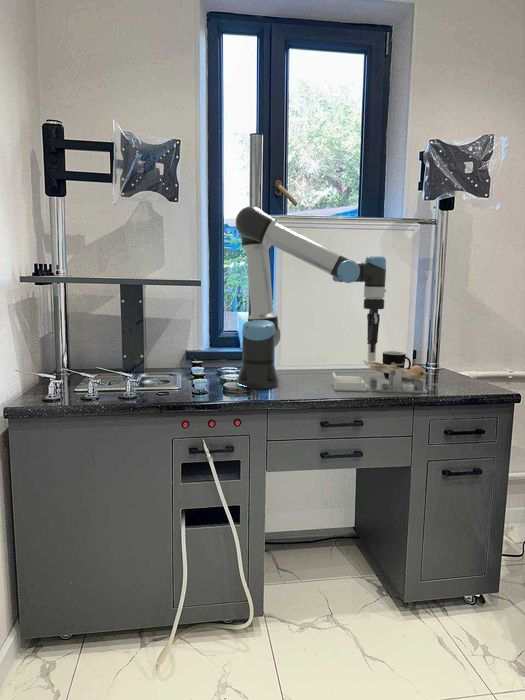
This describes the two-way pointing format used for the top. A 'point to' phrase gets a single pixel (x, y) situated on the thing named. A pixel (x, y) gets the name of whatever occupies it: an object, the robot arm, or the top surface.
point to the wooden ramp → (392, 369)
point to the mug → (395, 360)
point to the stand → (396, 384)
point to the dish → (348, 383)
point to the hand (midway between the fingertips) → (371, 360)
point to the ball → (416, 370)
